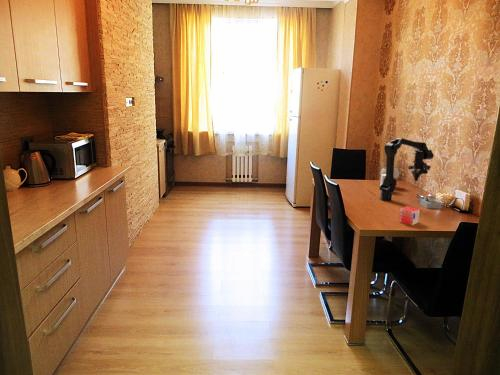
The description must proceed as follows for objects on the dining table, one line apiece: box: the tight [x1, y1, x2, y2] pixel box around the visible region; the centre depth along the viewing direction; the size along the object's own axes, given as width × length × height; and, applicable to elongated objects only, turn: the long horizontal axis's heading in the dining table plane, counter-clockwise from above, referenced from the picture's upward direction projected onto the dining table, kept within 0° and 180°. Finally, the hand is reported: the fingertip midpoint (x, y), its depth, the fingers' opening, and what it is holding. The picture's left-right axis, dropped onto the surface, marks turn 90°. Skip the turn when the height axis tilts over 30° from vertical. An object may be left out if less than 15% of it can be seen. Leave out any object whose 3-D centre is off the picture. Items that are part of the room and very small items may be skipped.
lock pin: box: [415, 192, 427, 200], centre depth 253 cm, size 3×11×3 cm, turn 0°
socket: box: [419, 199, 442, 209], centre depth 242 cm, size 9×12×4 cm
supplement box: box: [379, 173, 387, 192], centre depth 283 cm, size 7×7×13 cm
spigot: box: [427, 193, 436, 203], centre depth 240 cm, size 5×5×8 cm
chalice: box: [380, 167, 400, 179], centre depth 297 cm, size 14×14×15 cm
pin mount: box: [417, 195, 428, 203], centre depth 250 cm, size 5×5×4 cm
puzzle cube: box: [398, 206, 421, 226], centre depth 207 cm, size 8×8×8 cm
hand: (416, 181), depth 262 cm, fingers closed
